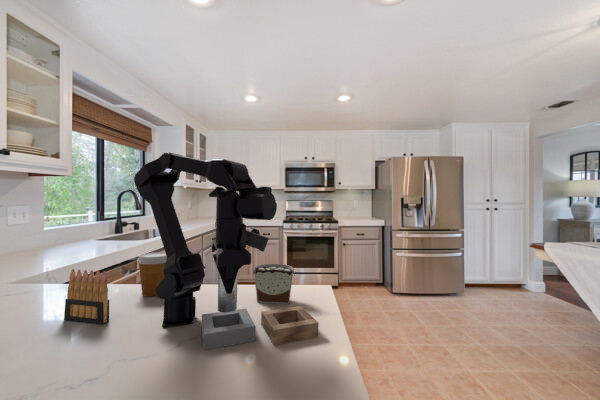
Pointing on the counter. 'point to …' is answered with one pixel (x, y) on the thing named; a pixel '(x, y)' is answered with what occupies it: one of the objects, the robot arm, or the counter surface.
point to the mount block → (288, 325)
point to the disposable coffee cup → (151, 271)
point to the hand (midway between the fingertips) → (227, 290)
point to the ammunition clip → (87, 298)
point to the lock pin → (226, 297)
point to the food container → (273, 283)
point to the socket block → (227, 329)
